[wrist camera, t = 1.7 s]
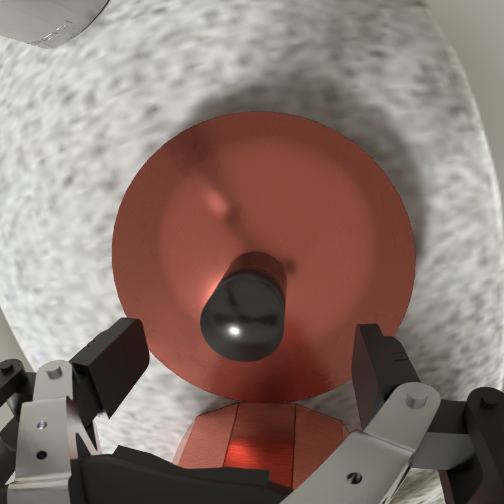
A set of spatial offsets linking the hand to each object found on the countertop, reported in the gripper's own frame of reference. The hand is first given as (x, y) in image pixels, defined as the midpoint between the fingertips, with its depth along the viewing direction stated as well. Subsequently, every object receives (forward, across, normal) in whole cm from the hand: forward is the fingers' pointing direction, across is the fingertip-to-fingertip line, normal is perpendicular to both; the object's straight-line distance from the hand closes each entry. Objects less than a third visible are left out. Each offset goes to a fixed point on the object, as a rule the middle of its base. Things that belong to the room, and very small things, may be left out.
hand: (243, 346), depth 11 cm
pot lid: (+8, 0, 0) cm, 9 cm away
